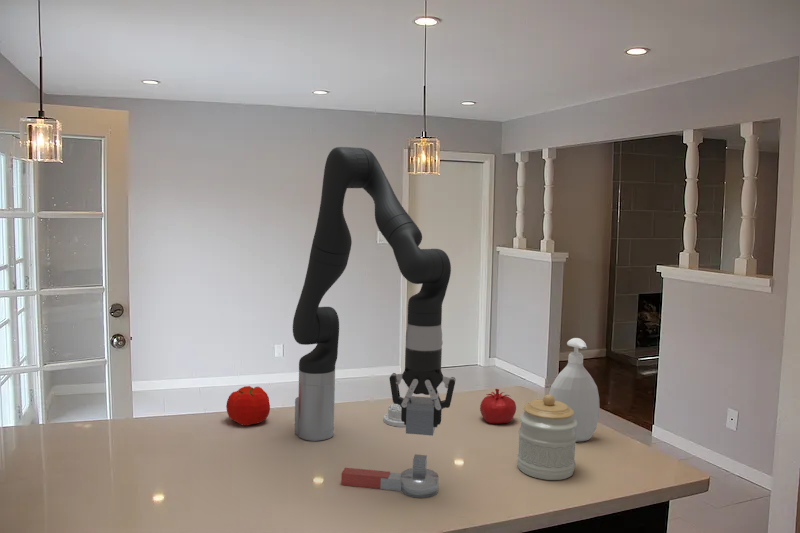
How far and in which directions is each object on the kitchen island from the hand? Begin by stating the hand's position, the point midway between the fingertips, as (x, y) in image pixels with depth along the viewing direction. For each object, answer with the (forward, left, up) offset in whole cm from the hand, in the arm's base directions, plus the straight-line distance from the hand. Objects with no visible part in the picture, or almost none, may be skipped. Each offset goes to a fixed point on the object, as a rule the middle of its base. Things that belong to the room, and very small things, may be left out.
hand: (421, 424), depth 131 cm
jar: (+20, +25, -14) cm, 35 cm away
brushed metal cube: (0, 0, -1) cm, 1 cm away
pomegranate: (-1, +51, -14) cm, 53 cm away
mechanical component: (-24, +36, -15) cm, 45 cm away
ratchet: (-6, -2, -14) cm, 15 cm away
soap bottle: (+21, +47, -14) cm, 54 cm away
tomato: (-58, +12, -14) cm, 61 cm away
